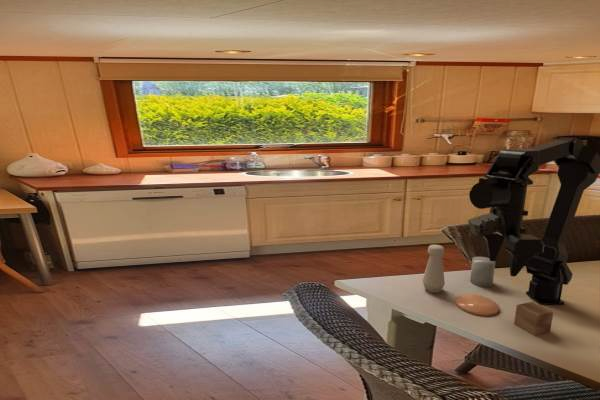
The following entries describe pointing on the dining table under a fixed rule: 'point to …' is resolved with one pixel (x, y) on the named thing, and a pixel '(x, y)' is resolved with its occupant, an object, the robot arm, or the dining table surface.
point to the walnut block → (533, 318)
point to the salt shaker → (434, 270)
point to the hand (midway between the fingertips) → (502, 268)
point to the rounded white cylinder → (482, 272)
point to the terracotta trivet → (477, 304)
